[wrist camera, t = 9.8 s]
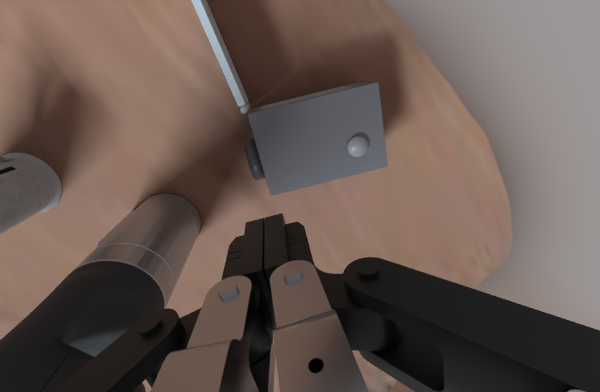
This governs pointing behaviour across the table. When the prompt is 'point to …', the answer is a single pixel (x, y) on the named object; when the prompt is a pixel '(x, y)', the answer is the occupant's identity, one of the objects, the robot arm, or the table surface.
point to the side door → (222, 53)
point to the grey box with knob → (317, 137)
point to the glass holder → (25, 188)
